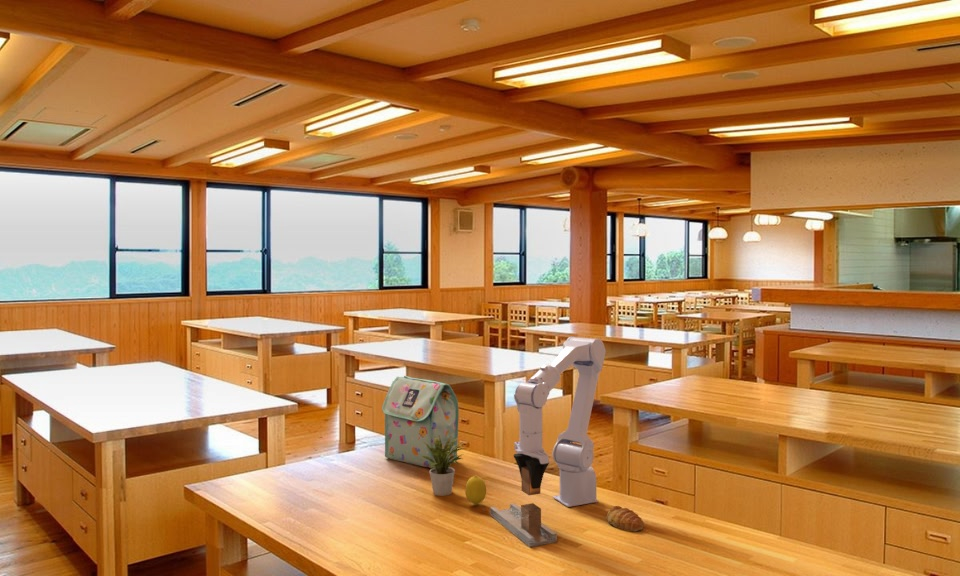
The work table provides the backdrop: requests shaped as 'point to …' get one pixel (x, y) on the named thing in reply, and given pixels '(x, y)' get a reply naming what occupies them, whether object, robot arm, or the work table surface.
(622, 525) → the pastry
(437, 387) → the lunch bag
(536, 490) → the brown rectangular block
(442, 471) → the house plant
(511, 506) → the rail
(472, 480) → the lemon
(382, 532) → the work table surface
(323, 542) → the work table surface
